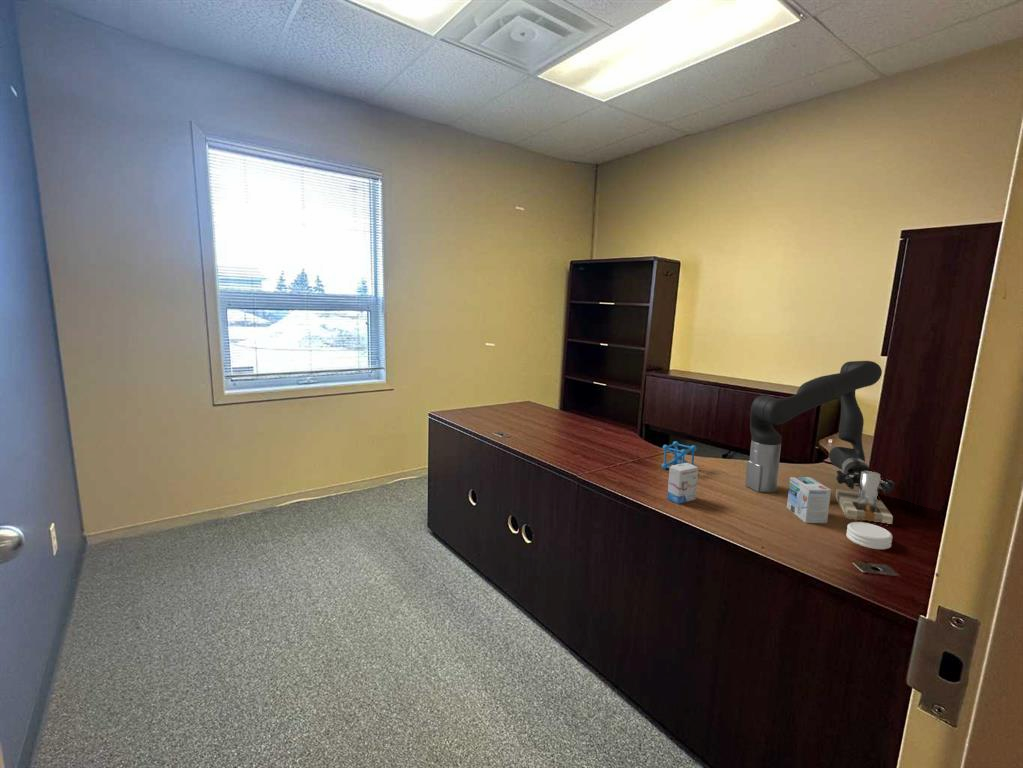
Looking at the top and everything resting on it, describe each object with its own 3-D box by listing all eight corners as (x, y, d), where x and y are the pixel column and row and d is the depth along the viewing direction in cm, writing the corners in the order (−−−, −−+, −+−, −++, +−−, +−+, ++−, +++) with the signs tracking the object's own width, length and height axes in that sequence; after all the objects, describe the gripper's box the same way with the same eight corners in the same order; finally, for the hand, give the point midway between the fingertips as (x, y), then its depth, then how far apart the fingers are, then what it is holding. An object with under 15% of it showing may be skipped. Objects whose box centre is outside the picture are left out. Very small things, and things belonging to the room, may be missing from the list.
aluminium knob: (877, 522, 140) (883, 478, 137) (858, 519, 141) (864, 475, 139) (872, 514, 145) (878, 472, 142) (854, 511, 147) (859, 469, 144)
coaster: (871, 532, 134) (872, 520, 133) (900, 550, 124) (902, 538, 124) (837, 532, 134) (838, 521, 133) (864, 550, 124) (866, 538, 123)
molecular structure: (683, 475, 178) (685, 450, 177) (660, 468, 186) (661, 444, 184) (696, 469, 185) (697, 445, 183) (673, 463, 192) (674, 440, 191)
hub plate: (891, 526, 137) (893, 516, 137) (846, 518, 142) (847, 509, 141) (875, 503, 153) (876, 494, 153) (835, 497, 158) (836, 488, 157)
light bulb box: (785, 508, 150) (789, 476, 148) (807, 508, 149) (810, 476, 148) (805, 523, 139) (809, 489, 137) (828, 523, 139) (832, 489, 137)
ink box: (678, 504, 152) (680, 470, 150) (666, 499, 156) (668, 465, 155) (696, 499, 156) (698, 466, 154) (684, 494, 160) (686, 461, 158)
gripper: (833, 457, 158) (842, 473, 144) (885, 464, 152) (900, 480, 137) (830, 478, 159) (840, 496, 145) (882, 485, 153) (897, 504, 139)
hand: (869, 488), depth 141 cm, fingers open, 8 cm apart
